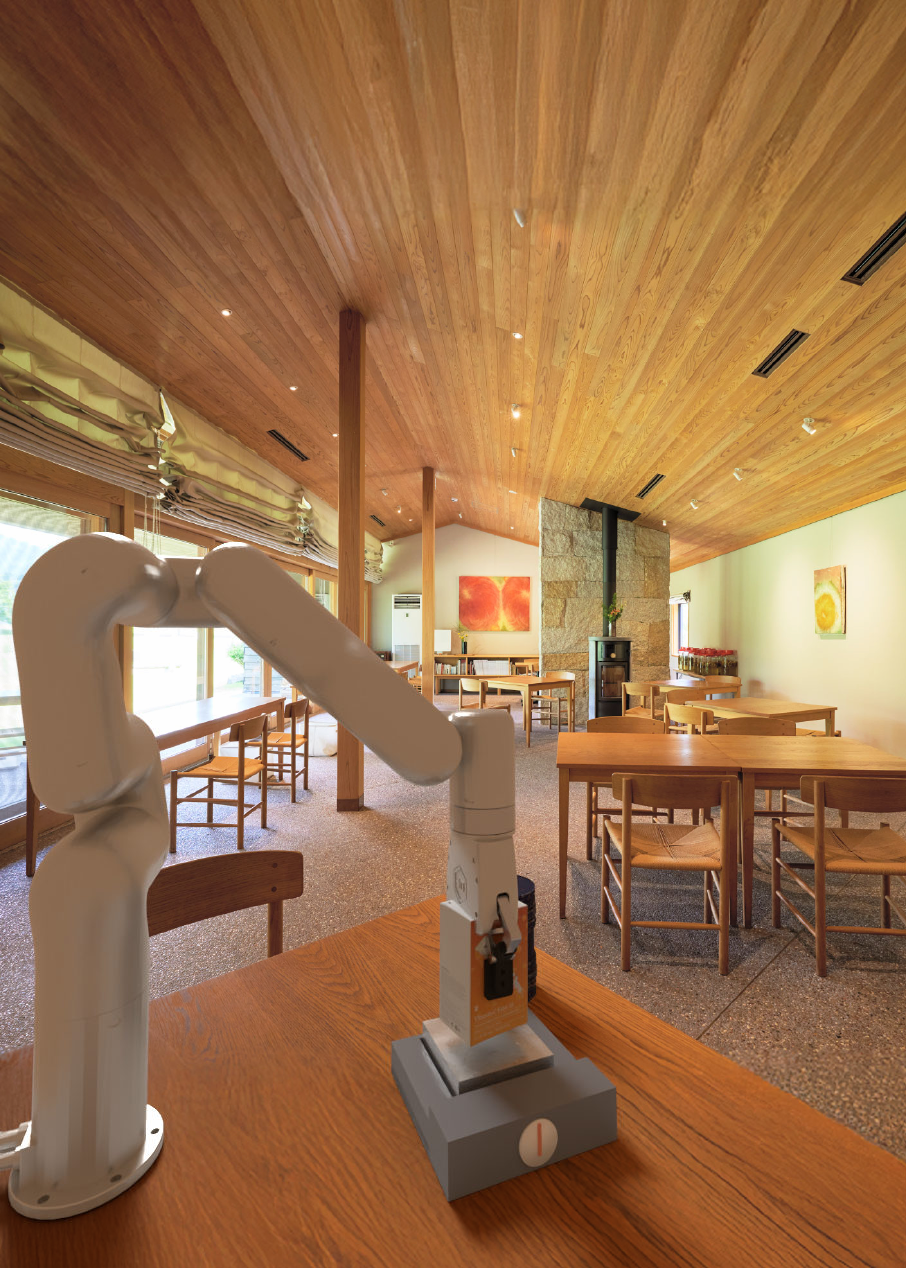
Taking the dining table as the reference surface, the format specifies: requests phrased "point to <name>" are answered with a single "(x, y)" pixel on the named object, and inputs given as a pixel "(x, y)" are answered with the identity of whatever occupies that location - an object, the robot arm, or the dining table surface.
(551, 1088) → the scale
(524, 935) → the small box
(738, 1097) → the dining table surface
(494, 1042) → the pan
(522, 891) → the navy cylindrical canister
